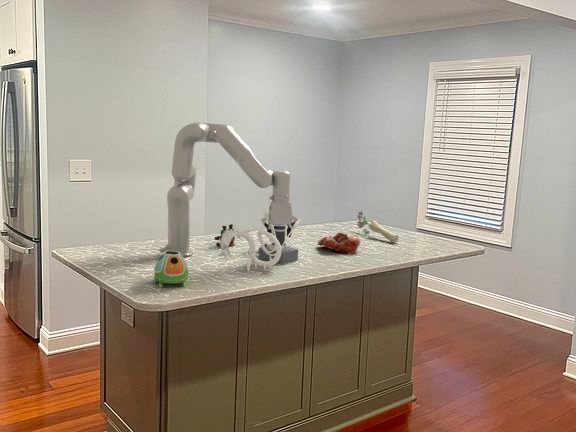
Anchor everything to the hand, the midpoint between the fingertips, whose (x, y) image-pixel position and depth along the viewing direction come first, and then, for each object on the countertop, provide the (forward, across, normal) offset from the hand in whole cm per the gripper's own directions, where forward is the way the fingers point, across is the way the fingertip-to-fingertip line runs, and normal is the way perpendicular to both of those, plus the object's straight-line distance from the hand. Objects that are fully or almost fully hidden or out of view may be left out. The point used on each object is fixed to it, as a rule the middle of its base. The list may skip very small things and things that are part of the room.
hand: (279, 237), depth 254 cm
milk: (+10, +6, +19) cm, 22 cm away
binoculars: (+10, -16, +32) cm, 38 cm away
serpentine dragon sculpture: (+10, -13, -10) cm, 20 cm away
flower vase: (+10, +72, +38) cm, 82 cm away
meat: (+11, +37, +13) cm, 41 cm away
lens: (+5, 0, 0) cm, 5 cm away
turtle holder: (+10, -53, -26) cm, 60 cm away
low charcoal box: (+10, 0, 0) cm, 10 cm away
